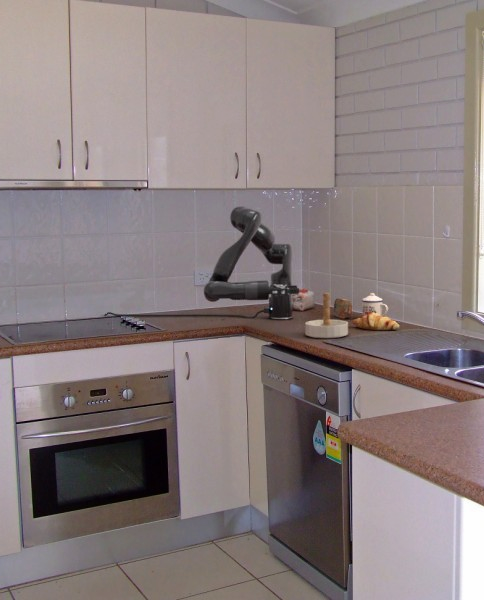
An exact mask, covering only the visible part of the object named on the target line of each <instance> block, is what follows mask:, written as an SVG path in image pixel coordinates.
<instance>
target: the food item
mask: <svg viewBox="0 0 484 600" xmlns="http://www.w3.org/2000/svg"><path fill="white" fill-rule="evenodd" d="M315 306H316V304H315V292H314V291H312V290H308V289H306V288H303V289H300V288H299V294H292V311H296V312H304V311H306V310H312V309H313V308H315Z"/></svg>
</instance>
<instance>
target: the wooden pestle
mask: <svg viewBox="0 0 484 600" xmlns="http://www.w3.org/2000/svg"><path fill="white" fill-rule="evenodd" d="M322 320H323V323H322V324H321V326H332V323H330V320H331V294H330V292H323V293H322Z"/></svg>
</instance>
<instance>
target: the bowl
mask: <svg viewBox="0 0 484 600" xmlns="http://www.w3.org/2000/svg"><path fill="white" fill-rule="evenodd" d="M322 323H323V319H314V320H309V321H306V322H305V323H304V335H305V336H307V337H310V338H314V339H339V338H343V337H345V336H348V335H349V322H348V321H347V320H343V319H342V320H341V319H330V323H332V326H321V324H322Z"/></svg>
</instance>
